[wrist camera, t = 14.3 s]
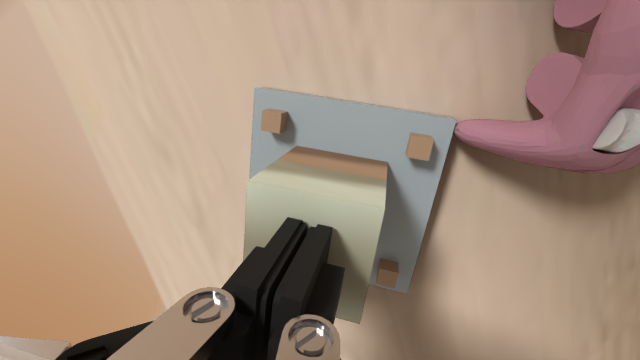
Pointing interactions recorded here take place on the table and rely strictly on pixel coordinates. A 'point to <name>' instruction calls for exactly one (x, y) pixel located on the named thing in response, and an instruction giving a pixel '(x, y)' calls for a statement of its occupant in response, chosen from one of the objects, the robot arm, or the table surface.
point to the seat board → (368, 142)
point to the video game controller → (578, 97)
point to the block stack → (323, 211)
